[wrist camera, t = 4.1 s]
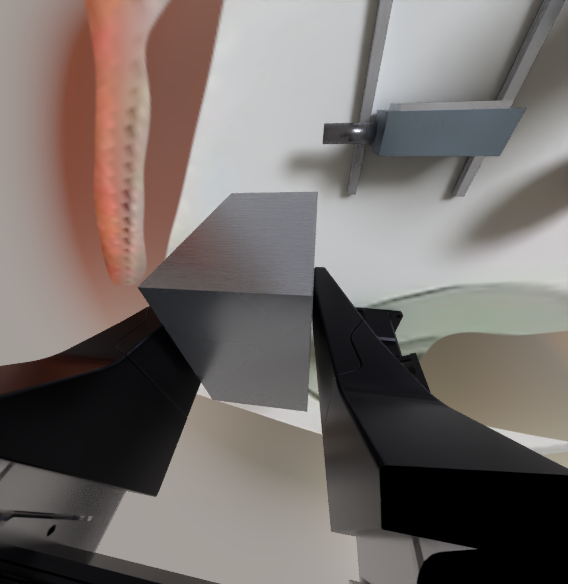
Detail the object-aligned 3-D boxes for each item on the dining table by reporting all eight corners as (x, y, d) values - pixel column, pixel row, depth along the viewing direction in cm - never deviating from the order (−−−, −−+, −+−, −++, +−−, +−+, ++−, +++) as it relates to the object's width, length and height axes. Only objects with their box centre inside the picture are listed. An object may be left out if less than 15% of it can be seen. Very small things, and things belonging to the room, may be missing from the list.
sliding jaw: (469, 147, 14) (499, 156, 12) (322, 147, 15) (321, 156, 13) (490, 100, 13) (530, 99, 10) (325, 105, 14) (325, 105, 11)
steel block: (317, 191, 8) (311, 295, 4) (312, 296, 12) (307, 411, 7) (231, 193, 9) (137, 287, 4) (252, 293, 12) (213, 399, 8)
